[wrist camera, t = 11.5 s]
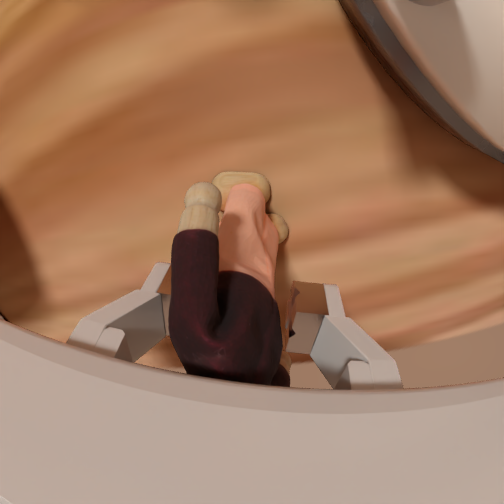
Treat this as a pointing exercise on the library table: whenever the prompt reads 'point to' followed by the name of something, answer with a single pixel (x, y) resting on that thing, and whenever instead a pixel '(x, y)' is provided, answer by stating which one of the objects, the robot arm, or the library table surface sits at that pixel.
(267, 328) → the grandmother figurine
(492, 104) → the turntable
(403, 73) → the turntable base
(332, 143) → the library table surface
